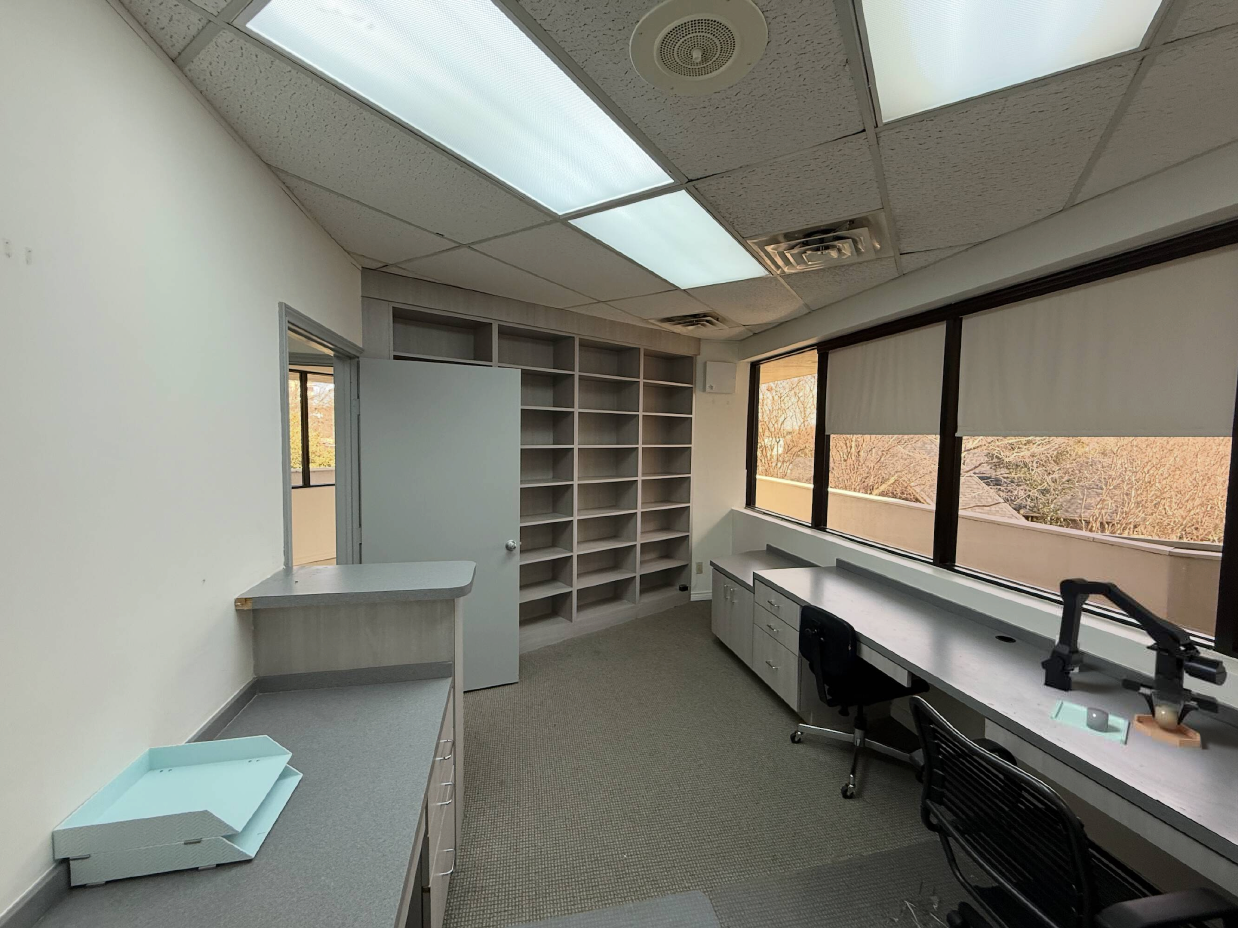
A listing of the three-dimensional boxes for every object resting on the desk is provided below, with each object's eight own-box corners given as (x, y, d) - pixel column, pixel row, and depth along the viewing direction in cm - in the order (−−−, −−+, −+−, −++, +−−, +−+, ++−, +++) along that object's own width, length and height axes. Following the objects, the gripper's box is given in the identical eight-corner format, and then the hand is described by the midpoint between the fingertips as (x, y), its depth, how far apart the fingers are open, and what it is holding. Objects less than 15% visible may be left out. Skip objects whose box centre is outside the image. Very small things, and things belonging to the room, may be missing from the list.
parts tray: (1049, 721, 149) (1049, 717, 149) (1058, 702, 160) (1058, 698, 160) (1124, 746, 137) (1124, 742, 136) (1128, 724, 148) (1128, 720, 148)
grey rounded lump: (1085, 727, 145) (1086, 710, 144) (1087, 721, 148) (1088, 705, 147) (1107, 734, 141) (1108, 717, 141) (1108, 728, 144) (1109, 712, 144)
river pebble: (1153, 723, 144) (1155, 707, 144) (1154, 718, 147) (1155, 702, 147) (1177, 731, 141) (1178, 714, 140) (1177, 725, 144) (1178, 708, 143)
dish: (1132, 733, 143) (1133, 724, 143) (1134, 717, 151) (1135, 709, 151) (1200, 754, 133) (1200, 745, 133) (1198, 736, 142) (1199, 728, 142)
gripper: (1122, 665, 145) (1118, 716, 146) (1221, 690, 131) (1217, 746, 132) (1124, 655, 152) (1121, 703, 153) (1218, 678, 138) (1215, 731, 139)
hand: (1165, 720), depth 144 cm, fingers closed on river pebble, 5 cm apart
